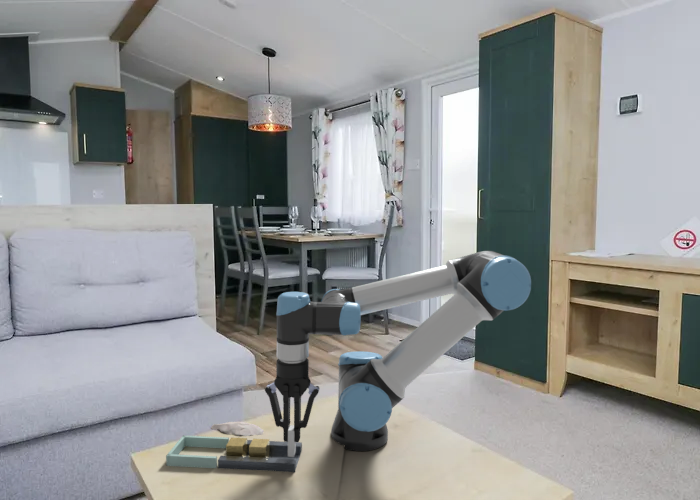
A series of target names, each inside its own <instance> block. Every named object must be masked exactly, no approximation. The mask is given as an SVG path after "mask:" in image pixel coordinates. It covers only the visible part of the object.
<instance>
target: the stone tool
mask: <svg viewBox="0 0 700 500" xmlns="http://www.w3.org/2000/svg"><path fill="white" fill-rule="evenodd" d="M210 430H213V431H220V433H221V432H222V433H224V434H225V435H226V434H227V435H235V436H237V437H239V436H243V437H250V436H260V435H263V434H264V432H265V431H264V429H263V428H261V427H260V426H259V425H256V424H254V423H249V422H244V421H226V422H224V423H218V424H217V423H214V424H212V425H211V427H210Z"/></svg>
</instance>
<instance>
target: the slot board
mask: <svg viewBox="0 0 700 500" xmlns="http://www.w3.org/2000/svg"><path fill="white" fill-rule="evenodd" d="M252 440H253V439H247V455H246V457H240V456H226V455H220V456H219V458H217V468H218V469H223V470H224V469H225V470H241V471H242V470H245V471H247V470H248V471H262V472H263V471H265V472H282V473H283V472H286V473H296V469H297V466H298V463H299V461H300V457H301V454H302V451H303V442H301V441H299V442H296V452H295V455H294V457H288V442H284V441H279V440H277V441H276V440H274V441H273V440H269V457H268V458H261V457H249V446H250V444H251V442H252Z"/></svg>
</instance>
